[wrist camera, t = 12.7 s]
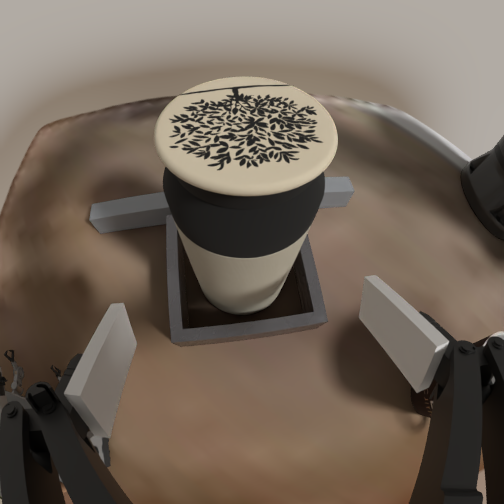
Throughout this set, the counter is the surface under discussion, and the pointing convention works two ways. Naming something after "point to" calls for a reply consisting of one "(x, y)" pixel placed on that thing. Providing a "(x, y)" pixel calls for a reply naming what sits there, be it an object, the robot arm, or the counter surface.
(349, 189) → the rail
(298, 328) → the grey square frame
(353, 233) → the counter surface
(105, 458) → the figurine
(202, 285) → the travel mug
